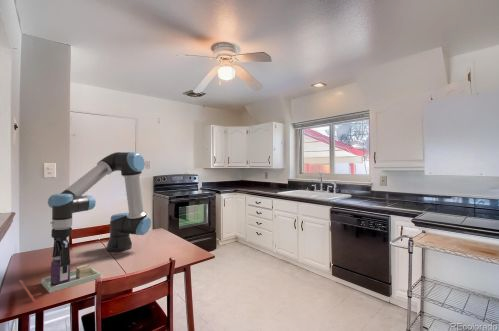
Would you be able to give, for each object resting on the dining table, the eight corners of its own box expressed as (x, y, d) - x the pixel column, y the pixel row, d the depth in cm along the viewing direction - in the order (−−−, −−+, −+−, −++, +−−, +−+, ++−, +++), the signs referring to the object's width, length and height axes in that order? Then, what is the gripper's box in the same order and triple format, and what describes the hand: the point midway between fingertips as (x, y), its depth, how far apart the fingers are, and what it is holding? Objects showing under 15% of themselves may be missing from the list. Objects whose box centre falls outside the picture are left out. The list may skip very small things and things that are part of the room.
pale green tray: (41, 285, 117) (41, 278, 117) (89, 272, 133) (90, 266, 133) (49, 295, 109) (49, 287, 109) (100, 279, 125) (100, 273, 125)
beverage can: (73, 280, 121) (73, 254, 122) (63, 286, 114) (64, 259, 115) (57, 280, 121) (58, 255, 121) (46, 287, 114) (47, 260, 114)
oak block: (75, 277, 124) (76, 267, 124) (87, 274, 128) (87, 264, 128) (79, 280, 121) (79, 270, 121) (91, 277, 125) (91, 267, 125)
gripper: (45, 225, 121) (43, 272, 121) (59, 233, 108) (57, 287, 108) (64, 222, 127) (62, 267, 127) (79, 230, 113) (78, 281, 114)
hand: (60, 276), depth 117 cm, fingers open, 9 cm apart
